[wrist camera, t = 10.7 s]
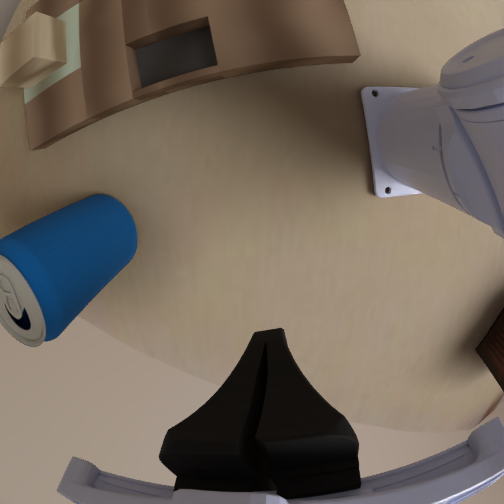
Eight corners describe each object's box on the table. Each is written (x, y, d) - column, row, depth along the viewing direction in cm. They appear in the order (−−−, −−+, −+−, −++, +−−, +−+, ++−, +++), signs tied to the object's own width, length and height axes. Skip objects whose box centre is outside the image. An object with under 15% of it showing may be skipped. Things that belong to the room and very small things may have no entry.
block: (66, 22, 12) (36, 11, 9) (67, 63, 14) (33, 56, 10) (30, 47, 13) (0, 42, 9) (31, 88, 15) (-2, 87, 11)
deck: (299, -77, 9) (300, -89, 8) (352, 62, 15) (360, 55, 13) (38, 14, 13) (26, 11, 11) (45, 148, 19) (30, 150, 17)
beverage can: (87, 264, 23) (3, 341, 12) (74, 195, 20) (-33, 247, 9) (147, 265, 22) (67, 363, 11) (136, 188, 20) (22, 246, 9)
